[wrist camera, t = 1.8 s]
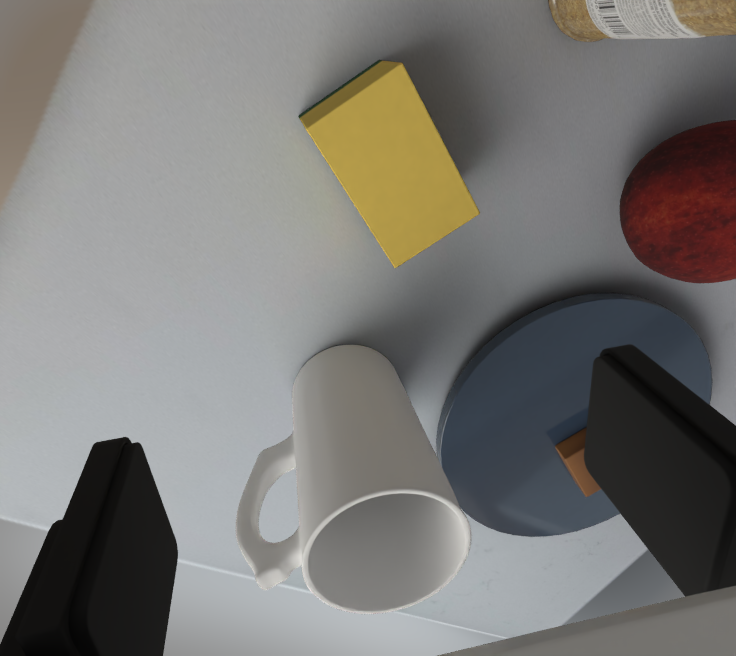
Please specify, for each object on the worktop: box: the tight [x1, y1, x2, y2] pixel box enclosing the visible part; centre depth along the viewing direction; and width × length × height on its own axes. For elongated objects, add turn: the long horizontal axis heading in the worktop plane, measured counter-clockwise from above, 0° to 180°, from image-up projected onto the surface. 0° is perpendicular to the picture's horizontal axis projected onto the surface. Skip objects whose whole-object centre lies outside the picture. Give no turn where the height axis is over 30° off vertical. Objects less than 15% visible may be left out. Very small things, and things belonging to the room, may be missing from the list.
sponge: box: [299, 60, 480, 268], centre depth 25 cm, size 7×4×4 cm, turn 32°
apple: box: [620, 120, 736, 283], centre depth 27 cm, size 7×8×8 cm
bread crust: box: [555, 427, 601, 497], centre depth 36 cm, size 4×4×1 cm
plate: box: [436, 293, 712, 537], centre depth 36 cm, size 18×18×2 cm
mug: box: [236, 345, 471, 614], centre depth 27 cm, size 10×7×12 cm, turn 111°
